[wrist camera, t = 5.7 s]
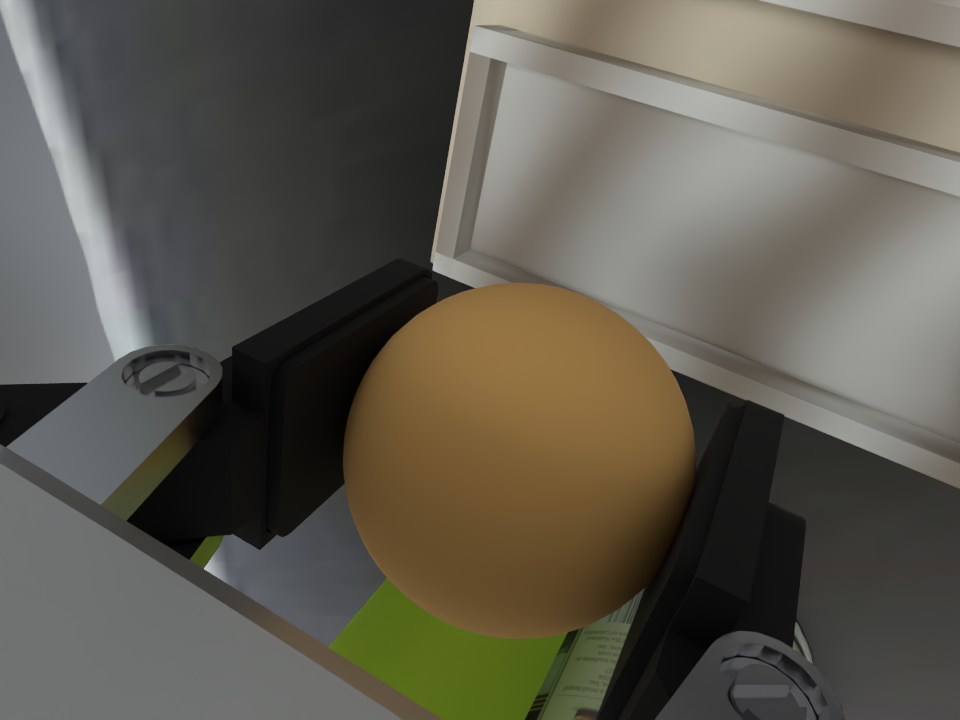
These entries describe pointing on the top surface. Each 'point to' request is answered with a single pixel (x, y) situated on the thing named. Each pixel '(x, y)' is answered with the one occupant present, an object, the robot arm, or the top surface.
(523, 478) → the orange ball
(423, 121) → the top surface
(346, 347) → the robot arm
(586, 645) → the coffee can
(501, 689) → the soap dispenser
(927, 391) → the trough board
